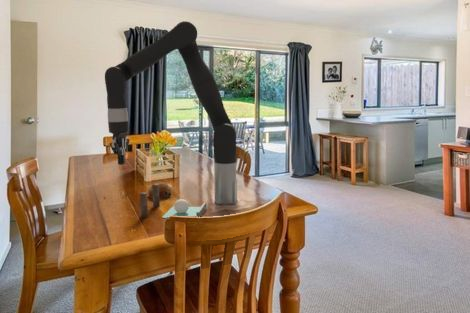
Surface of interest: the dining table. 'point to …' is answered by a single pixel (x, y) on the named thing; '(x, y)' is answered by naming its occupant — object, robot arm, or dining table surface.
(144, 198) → the post left
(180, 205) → the ball
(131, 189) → the dining table surface
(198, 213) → the stopper strip
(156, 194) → the post right
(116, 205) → the dining table surface
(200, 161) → the dining table surface
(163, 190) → the coconut
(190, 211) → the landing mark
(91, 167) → the dining table surface
